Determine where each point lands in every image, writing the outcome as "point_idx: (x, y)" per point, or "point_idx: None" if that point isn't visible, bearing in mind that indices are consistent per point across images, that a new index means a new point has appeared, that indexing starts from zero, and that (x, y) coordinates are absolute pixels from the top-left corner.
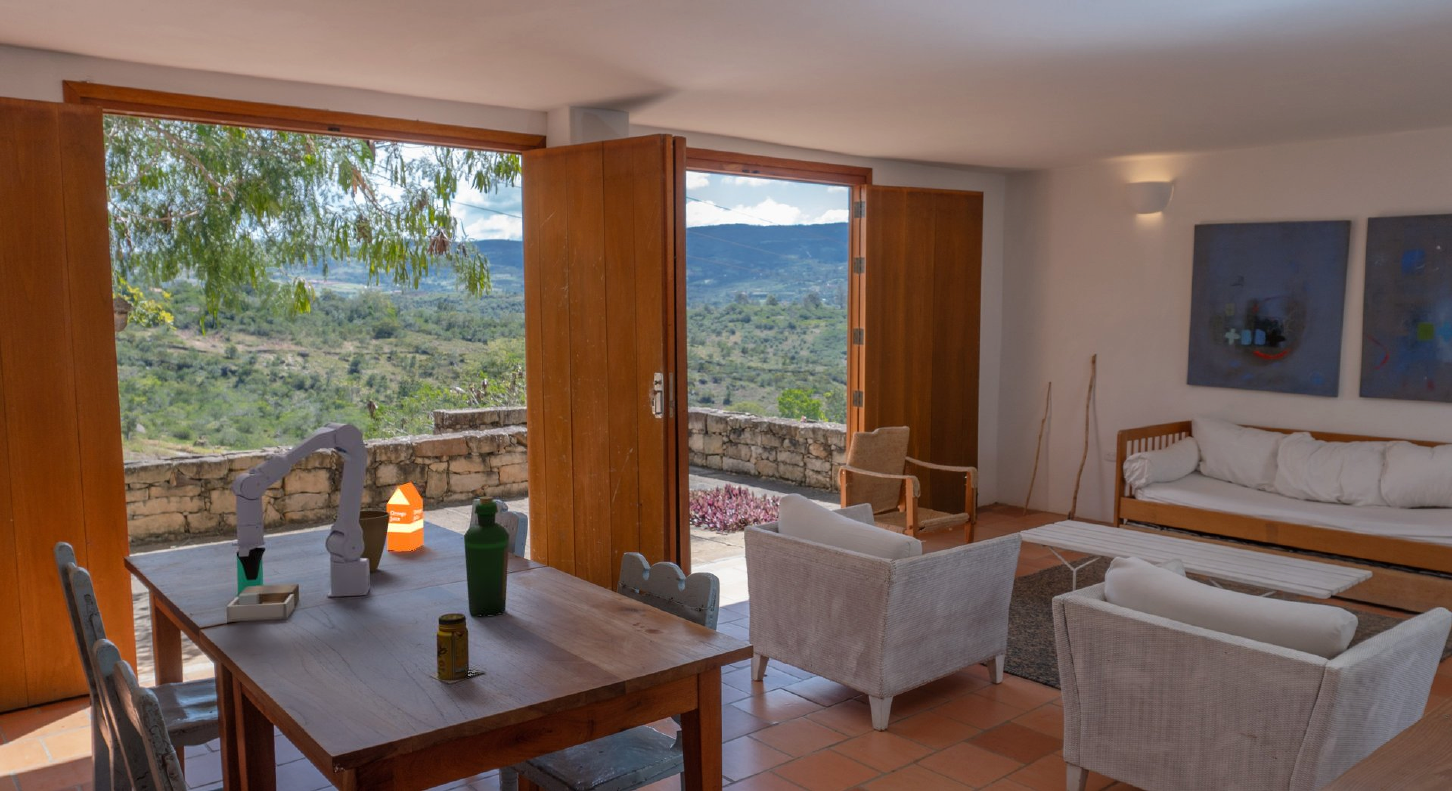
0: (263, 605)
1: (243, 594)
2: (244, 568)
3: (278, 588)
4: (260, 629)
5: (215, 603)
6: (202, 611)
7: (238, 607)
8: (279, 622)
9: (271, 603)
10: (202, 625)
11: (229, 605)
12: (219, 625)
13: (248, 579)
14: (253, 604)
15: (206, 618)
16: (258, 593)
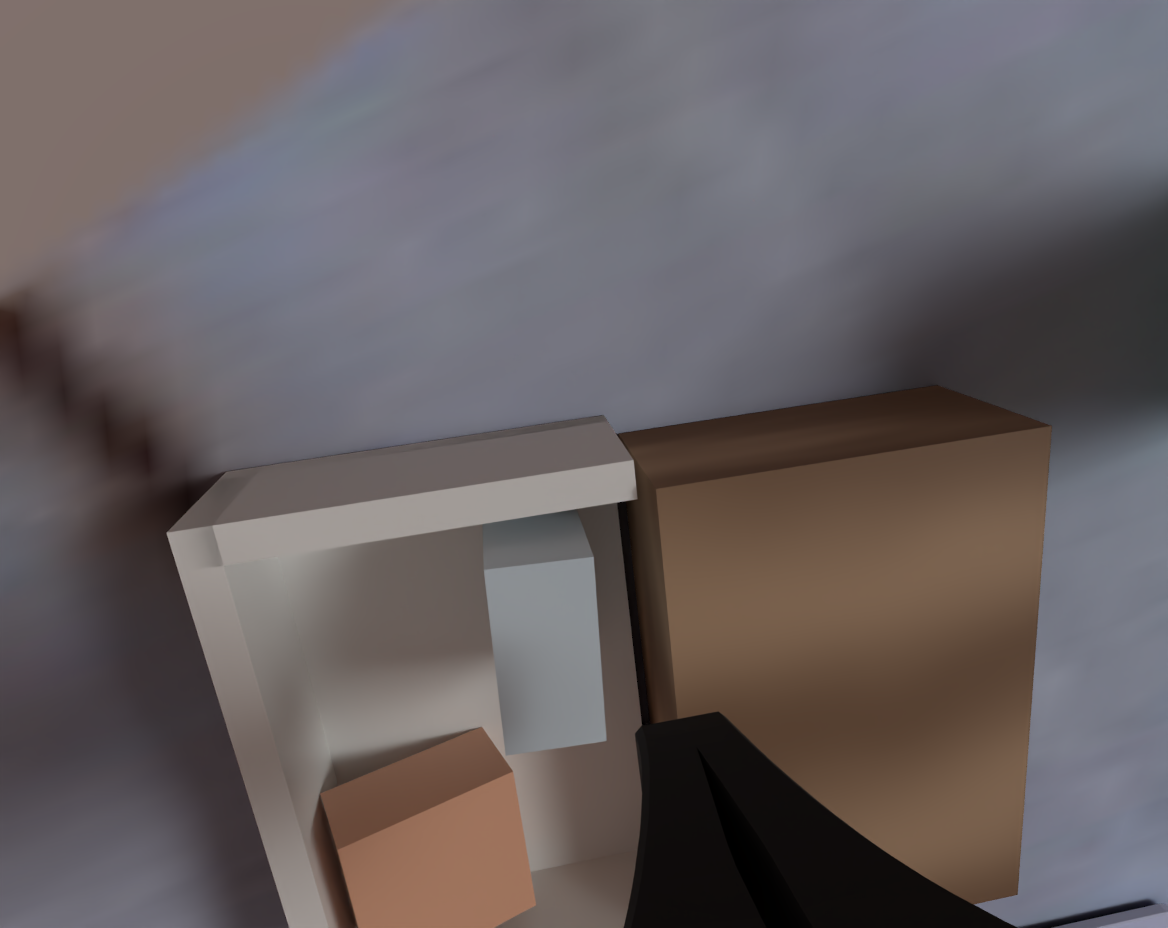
0: (277, 870)
1: (551, 599)
2: (642, 876)
3: (878, 790)
4: (11, 850)
5: (960, 46)
6: (646, 21)
7: (209, 647)
8: (240, 903)
9: (353, 910)
10: (77, 263)
11: (228, 542)
12: (97, 446)
13: (638, 754)
14: (284, 779)
15: (356, 193)
16: (588, 743)
